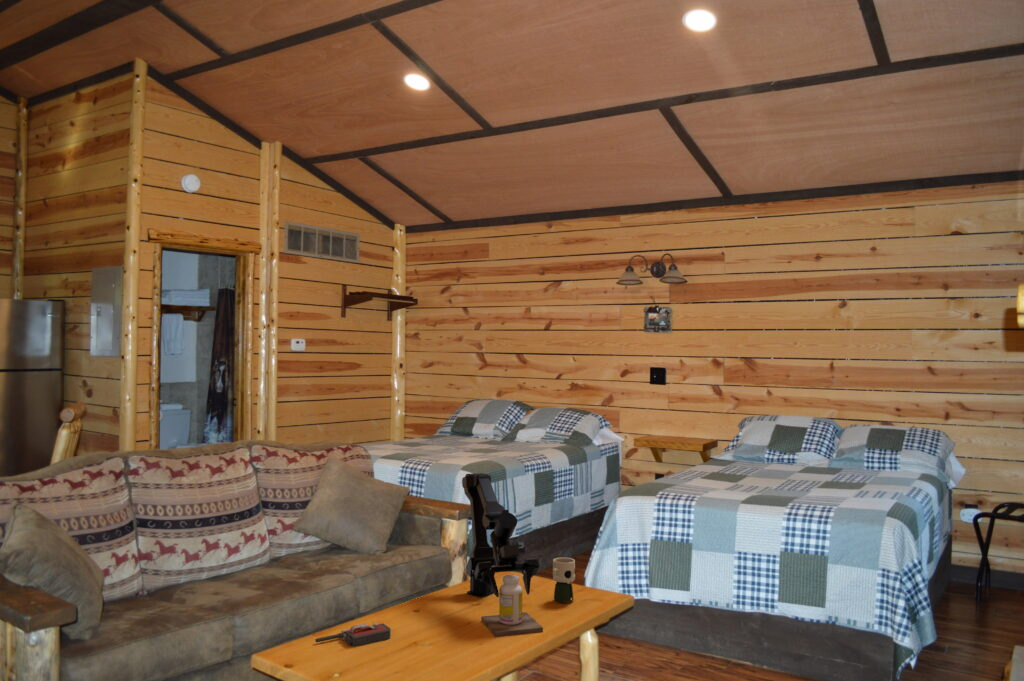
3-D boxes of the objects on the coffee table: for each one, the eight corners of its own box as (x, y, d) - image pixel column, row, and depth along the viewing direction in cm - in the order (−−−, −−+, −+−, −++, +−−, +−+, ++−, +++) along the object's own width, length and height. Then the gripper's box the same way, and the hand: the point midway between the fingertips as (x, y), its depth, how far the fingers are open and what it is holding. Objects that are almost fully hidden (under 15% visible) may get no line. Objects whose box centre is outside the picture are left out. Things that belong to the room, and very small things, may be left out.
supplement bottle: (516, 616, 234) (517, 572, 234) (525, 624, 228) (526, 578, 228) (495, 619, 231) (496, 575, 231) (504, 626, 225) (504, 581, 225)
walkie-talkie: (381, 630, 226) (313, 644, 214) (381, 614, 226) (313, 628, 214) (395, 639, 219) (326, 654, 207) (395, 623, 219) (326, 637, 207)
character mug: (562, 607, 247) (562, 565, 247) (544, 602, 252) (544, 561, 252) (582, 599, 255) (583, 558, 256) (564, 595, 260) (565, 555, 260)
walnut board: (481, 620, 234) (481, 616, 234) (526, 616, 238) (526, 612, 238) (495, 636, 221) (495, 632, 221) (542, 631, 225) (542, 627, 225)
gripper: (477, 534, 231) (488, 583, 220) (538, 530, 237) (551, 578, 226) (470, 555, 238) (479, 603, 227) (529, 551, 244) (541, 597, 233)
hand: (513, 595), depth 228 cm, fingers open, 9 cm apart
